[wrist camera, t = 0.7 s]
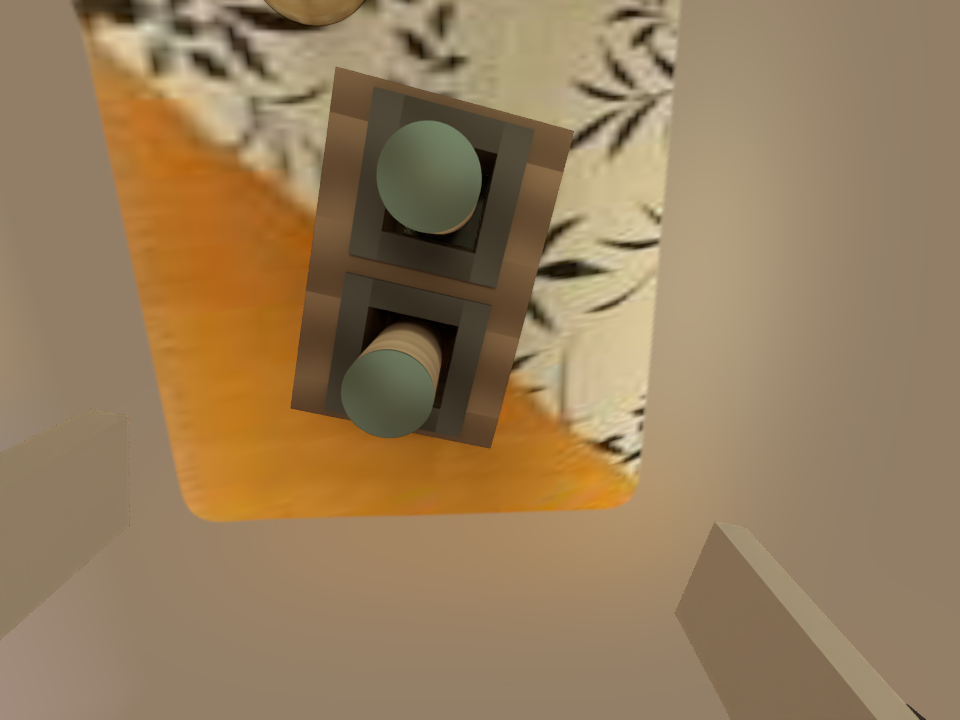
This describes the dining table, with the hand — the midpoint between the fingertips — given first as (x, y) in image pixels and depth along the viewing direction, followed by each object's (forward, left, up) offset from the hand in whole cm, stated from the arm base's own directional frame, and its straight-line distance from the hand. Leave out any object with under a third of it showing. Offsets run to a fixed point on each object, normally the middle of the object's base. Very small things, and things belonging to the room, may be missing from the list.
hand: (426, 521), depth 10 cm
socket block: (-4, -2, -24) cm, 24 cm away
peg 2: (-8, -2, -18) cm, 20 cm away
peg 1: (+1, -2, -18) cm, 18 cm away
